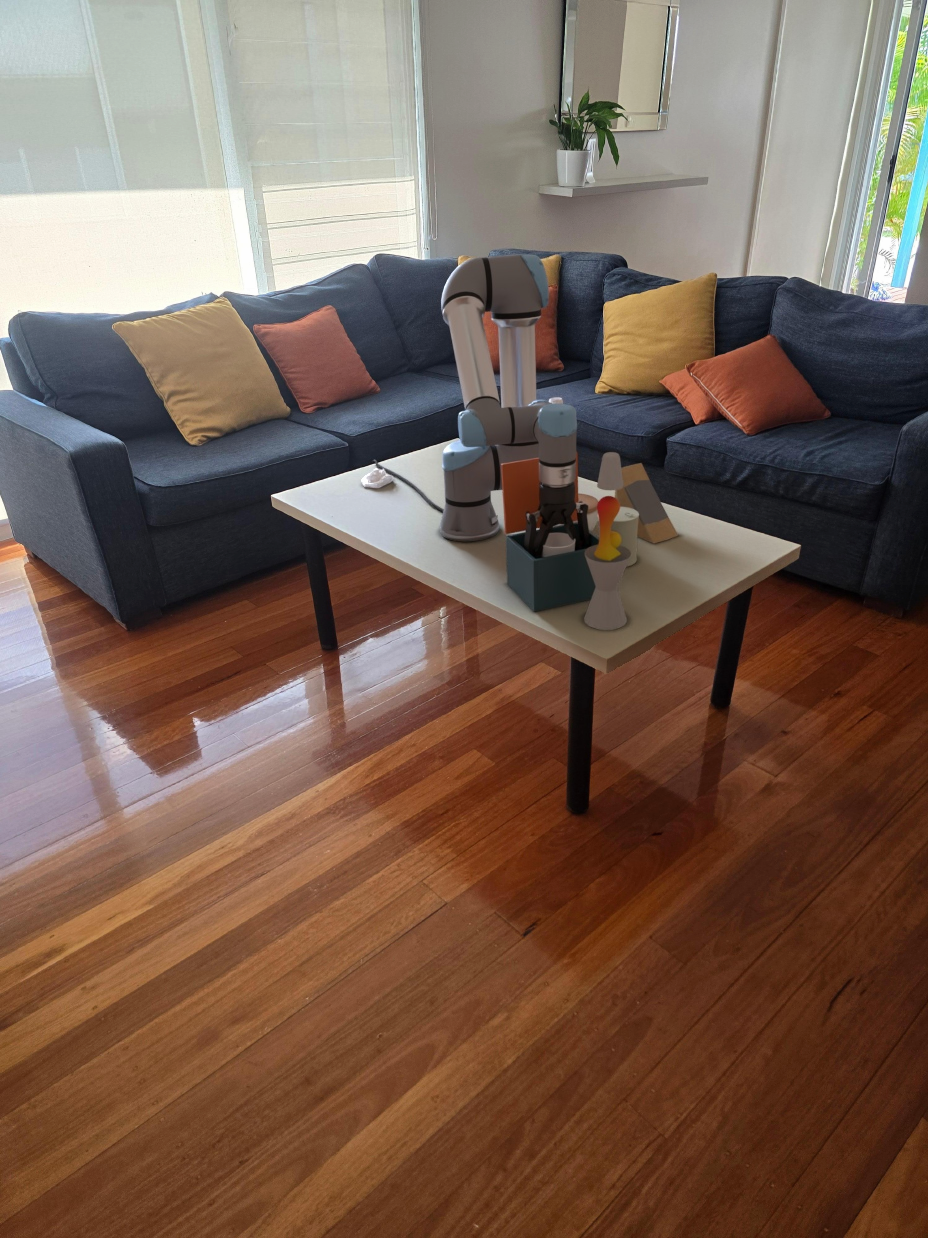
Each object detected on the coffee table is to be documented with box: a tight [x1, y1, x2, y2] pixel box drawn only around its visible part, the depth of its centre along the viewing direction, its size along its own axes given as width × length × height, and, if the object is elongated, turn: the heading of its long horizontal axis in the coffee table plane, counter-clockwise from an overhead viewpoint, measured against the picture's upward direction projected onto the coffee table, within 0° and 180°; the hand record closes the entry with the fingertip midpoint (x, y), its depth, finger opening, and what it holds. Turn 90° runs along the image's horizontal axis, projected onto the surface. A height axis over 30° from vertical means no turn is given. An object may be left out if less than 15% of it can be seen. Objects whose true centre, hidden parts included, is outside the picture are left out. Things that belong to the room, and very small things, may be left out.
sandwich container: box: [614, 462, 679, 544], centre depth 206 cm, size 9×15×15 cm, turn 31°
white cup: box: [540, 533, 575, 558], centre depth 180 cm, size 8×8×10 cm
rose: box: [361, 468, 394, 489], centre depth 250 cm, size 10×4×10 cm
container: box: [505, 522, 599, 613], centre depth 181 cm, size 15×18×12 cm
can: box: [597, 507, 639, 568], centre depth 193 cm, size 9×9×12 cm
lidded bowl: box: [553, 492, 599, 532], centre depth 206 cm, size 13×13×11 cm
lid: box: [501, 451, 579, 535], centre depth 181 cm, size 15×18×1 cm
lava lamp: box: [583, 451, 631, 631], centre depth 162 cm, size 9×9×35 cm
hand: (556, 580), depth 183 cm, fingers closed on white cup, 8 cm apart
